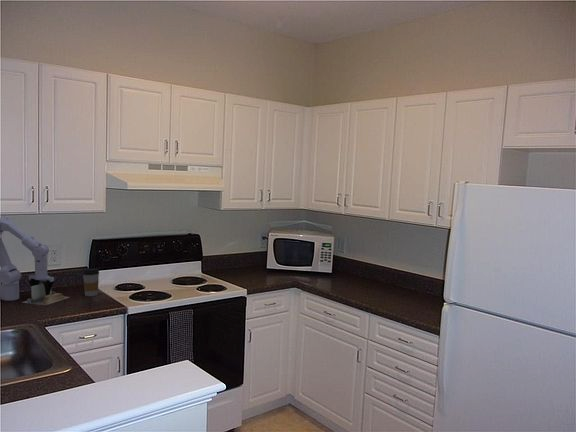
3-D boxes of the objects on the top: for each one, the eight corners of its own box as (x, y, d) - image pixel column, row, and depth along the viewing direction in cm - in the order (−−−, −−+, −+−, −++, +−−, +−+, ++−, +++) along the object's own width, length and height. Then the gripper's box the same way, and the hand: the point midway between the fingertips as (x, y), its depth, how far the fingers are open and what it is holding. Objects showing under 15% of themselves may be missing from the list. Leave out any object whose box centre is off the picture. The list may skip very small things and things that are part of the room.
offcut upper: (44, 299, 241) (44, 296, 240) (56, 295, 248) (56, 293, 248) (50, 300, 240) (50, 297, 239) (62, 296, 247) (62, 293, 247)
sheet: (31, 301, 241) (31, 286, 241) (49, 296, 253) (49, 281, 252) (33, 302, 241) (33, 286, 240) (51, 296, 252) (51, 281, 252)
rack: (21, 304, 240) (21, 298, 240) (47, 296, 256) (47, 290, 256) (45, 307, 236) (45, 301, 236) (70, 298, 252) (70, 293, 252)
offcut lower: (43, 302, 240) (43, 299, 240) (58, 297, 250) (58, 295, 250) (49, 303, 239) (49, 300, 239) (64, 298, 249) (64, 295, 249)
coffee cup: (98, 298, 255) (97, 270, 254) (81, 298, 253) (81, 271, 252) (100, 294, 263) (100, 267, 262) (85, 294, 261) (84, 268, 260)
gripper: (58, 267, 247) (58, 293, 248) (36, 265, 251) (37, 290, 253) (47, 270, 240) (48, 296, 242) (25, 268, 245) (26, 294, 246)
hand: (41, 293), depth 247 cm, fingers open, 7 cm apart
